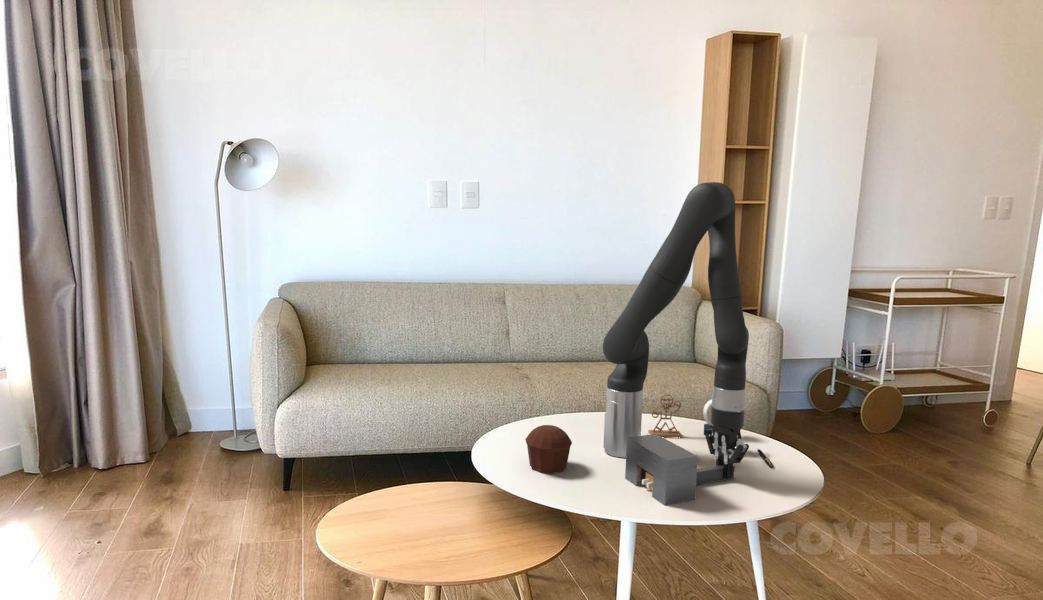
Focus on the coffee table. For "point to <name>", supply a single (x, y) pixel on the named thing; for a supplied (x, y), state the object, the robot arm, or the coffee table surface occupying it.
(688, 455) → the bridge-shaped block
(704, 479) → the plug
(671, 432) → the gingerbread man figurine
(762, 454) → the fountain pen
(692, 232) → the robot arm
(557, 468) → the muffin
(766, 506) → the coffee table surface
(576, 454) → the coffee table surface
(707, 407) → the watch
